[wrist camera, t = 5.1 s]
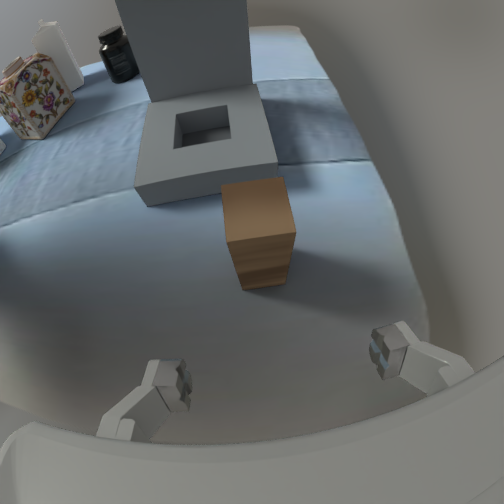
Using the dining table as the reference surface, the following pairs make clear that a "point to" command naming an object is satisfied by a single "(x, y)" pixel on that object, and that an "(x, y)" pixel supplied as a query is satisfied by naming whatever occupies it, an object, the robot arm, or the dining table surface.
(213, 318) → the dining table surface
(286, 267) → the walnut peg
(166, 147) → the socket stand
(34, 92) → the decorative jar
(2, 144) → the tea box
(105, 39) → the supplement bottle
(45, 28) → the milk
